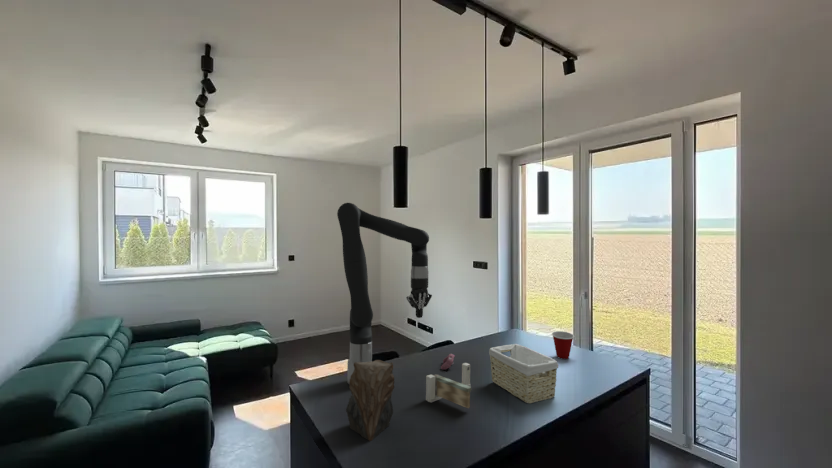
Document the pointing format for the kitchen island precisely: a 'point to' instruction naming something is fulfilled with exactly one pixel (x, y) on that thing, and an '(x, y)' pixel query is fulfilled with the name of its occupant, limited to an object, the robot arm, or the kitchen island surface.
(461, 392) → the panel
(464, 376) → the gate posts
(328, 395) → the kitchen island surface
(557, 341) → the plastic cup
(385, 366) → the owl
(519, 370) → the storage basket
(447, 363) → the video game controller
